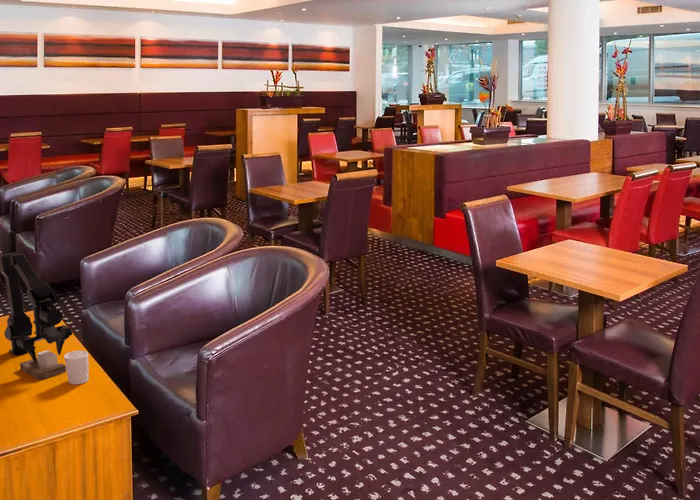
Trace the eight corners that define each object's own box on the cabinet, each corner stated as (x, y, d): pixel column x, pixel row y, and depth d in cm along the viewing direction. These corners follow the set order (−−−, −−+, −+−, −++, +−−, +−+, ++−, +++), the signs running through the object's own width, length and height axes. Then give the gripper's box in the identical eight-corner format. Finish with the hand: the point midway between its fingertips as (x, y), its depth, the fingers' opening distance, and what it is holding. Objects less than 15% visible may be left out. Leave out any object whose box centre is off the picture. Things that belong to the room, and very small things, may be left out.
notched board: (20, 369, 268) (19, 363, 268) (46, 361, 276) (45, 355, 275) (39, 380, 259) (38, 373, 259) (66, 371, 267) (65, 365, 266)
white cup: (75, 387, 254) (72, 360, 251) (62, 381, 258) (59, 355, 256) (95, 379, 260) (92, 353, 257) (82, 374, 265) (79, 348, 262)
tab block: (38, 368, 270) (37, 353, 268) (49, 364, 273) (47, 350, 271) (47, 373, 265) (46, 358, 264) (58, 370, 268) (56, 354, 267)
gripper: (28, 330, 252) (33, 372, 256) (78, 316, 266) (82, 356, 270) (13, 323, 259) (18, 363, 263) (62, 310, 273) (66, 348, 277)
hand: (47, 358), depth 268 cm, fingers open, 9 cm apart
